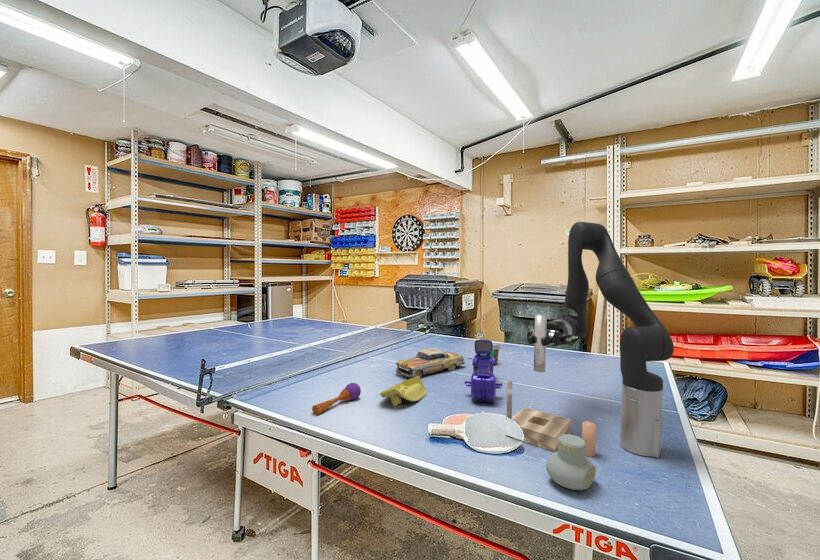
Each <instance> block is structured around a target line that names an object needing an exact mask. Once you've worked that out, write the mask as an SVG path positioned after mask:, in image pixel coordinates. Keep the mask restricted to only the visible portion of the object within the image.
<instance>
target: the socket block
mask: <svg viewBox="0 0 820 560" xmlns="http://www.w3.org/2000/svg"><path fill="white" fill-rule="evenodd" d="M506 384H507V385H506V388H507V389H506V418H507V417H508V418H510V419H513V420H514V421H515V422H516V423H517V424H518V425H519V426H520V428H521V429H522V431H523V434H524V442H523V443H526V444H529V445H531V446H535V447H538V446H539V447H538V448H541V447H542V448H541V449H545V450H547V451H551V452H553V453H555V452H557V451H558V437H559V436H561V435H564V434H570V435H571V433H572V432H571V429H572V428H571V427H572V426H571V425H572V420H571V419H570V418H568V417H567V418H566V417H562V416H559V415H555V414H551V413H548V412H544V411H540V410H536V409H532V408H530V407H529V408H528V407H525V406H524V407H523V408H522V409H521V410H519V411H518V412H517V413H516V414H514V415H513V416H512V413H513V381H512V380H507V383H506Z"/></svg>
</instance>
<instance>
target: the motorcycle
mask: <svg viewBox="0 0 820 560" xmlns="http://www.w3.org/2000/svg"><path fill="white" fill-rule="evenodd" d="M493 345H494V344H493V341H492V340H488V339H476V340H475V341H474V353H475V355H473V356H472V357H468V360H472V366H473V368H472V371H473V372H472V374H471V375H470V376H471V379H470V381H469V380H468V381H467V380H466V381H464V385H465V386H466V387H469V388H470V397H471V399H472V401H473V402H478V403H481V402H483V403H490V404H492V403H494V402H495V399H496V394H497V393H496V391H497V390H496V389H498V390H499V389H500V390H501V387H503V383H499V382H498V383H497V382H496V381H497V380H496V379H497V378H496V376H495V374H494V367H495V365H494V360H497V359H494V357H493V358H492V356H491V355H490V354H491V353H492V348H493ZM482 354H487V355H482ZM498 361H499V359H498V360H497V362H498Z"/></svg>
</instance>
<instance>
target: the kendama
mask: <svg viewBox="0 0 820 560" xmlns="http://www.w3.org/2000/svg"><path fill="white" fill-rule="evenodd" d="M361 392H362V390H361V386H360V385H359V384H357V383H355V382H350V383H348V384H347V385H346V386H345V387H344V388H343V389H342V390H341V391H340V393H339V395H338V396H337V397H334V398H331V399H329V400H326V401H323V402H319V403H316V404H314V405H313V406H312V408H311V410H312V413H313V414H314V415H316V416H318V415H319V416H320V414H321V413H323V412H324V411H326V410H327V409H328V408H330V407H332V406H333V405H334V404H336V403H337V402H338V401H354V400H357V399H358V398H359V397H360V396H361V394H362V393H361Z"/></svg>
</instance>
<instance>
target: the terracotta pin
mask: <svg viewBox="0 0 820 560" xmlns="http://www.w3.org/2000/svg"><path fill="white" fill-rule="evenodd" d="M581 424H582V427H581V429H582V432H581V433H582V434H581V438H582V439H583V440H584V441H585V442H586V457H591V458H592V457H593V458H594V457H596V443H597V442H596V441H597V440H596V438H597V437H596V435H597V423H595V422H592V421H589V420H585V421H584V420H583V421H582V423H581Z"/></svg>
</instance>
